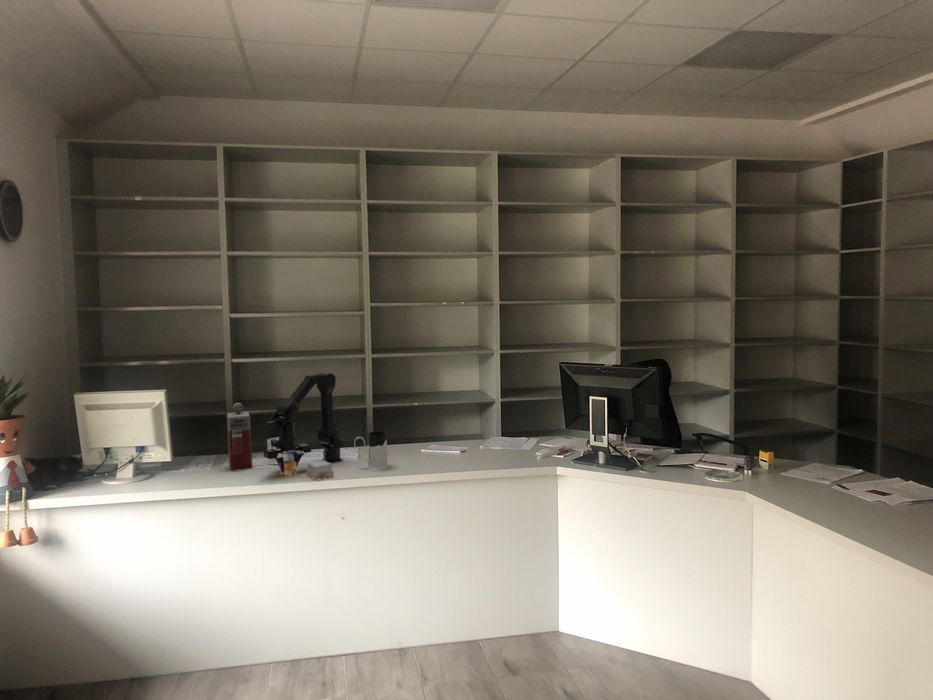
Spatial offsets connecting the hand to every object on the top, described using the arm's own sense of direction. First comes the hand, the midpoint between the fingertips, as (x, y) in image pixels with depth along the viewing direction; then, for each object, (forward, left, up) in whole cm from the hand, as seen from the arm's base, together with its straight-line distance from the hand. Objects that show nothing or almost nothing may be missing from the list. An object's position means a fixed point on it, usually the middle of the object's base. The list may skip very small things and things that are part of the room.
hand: (288, 471), depth 280 cm
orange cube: (0, 0, -1) cm, 1 cm away
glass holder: (-31, +15, -1) cm, 34 cm away
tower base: (-8, +13, -2) cm, 15 cm away
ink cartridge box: (-4, -18, -1) cm, 18 cm away
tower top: (-8, +13, +2) cm, 15 cm away
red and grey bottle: (+12, -23, -1) cm, 26 cm away
